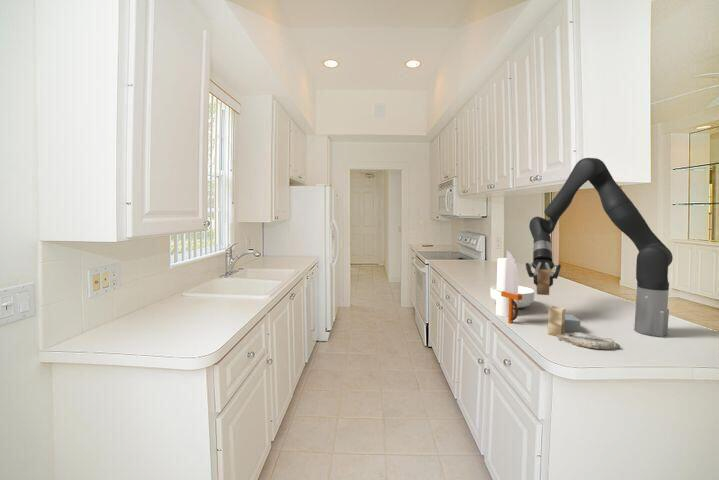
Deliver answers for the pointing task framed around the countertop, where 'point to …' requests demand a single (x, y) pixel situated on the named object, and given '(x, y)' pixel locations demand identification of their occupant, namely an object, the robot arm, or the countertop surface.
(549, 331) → the oak block
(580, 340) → the fossil
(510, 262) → the knife
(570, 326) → the base block
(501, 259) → the cylindrical container
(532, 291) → the bowl
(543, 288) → the walnut block
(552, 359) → the countertop surface
